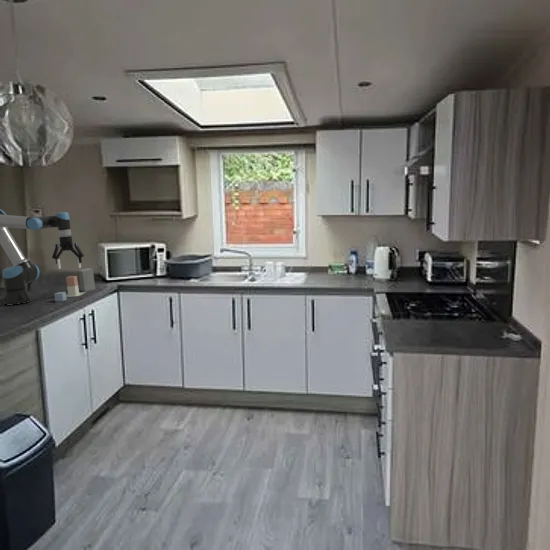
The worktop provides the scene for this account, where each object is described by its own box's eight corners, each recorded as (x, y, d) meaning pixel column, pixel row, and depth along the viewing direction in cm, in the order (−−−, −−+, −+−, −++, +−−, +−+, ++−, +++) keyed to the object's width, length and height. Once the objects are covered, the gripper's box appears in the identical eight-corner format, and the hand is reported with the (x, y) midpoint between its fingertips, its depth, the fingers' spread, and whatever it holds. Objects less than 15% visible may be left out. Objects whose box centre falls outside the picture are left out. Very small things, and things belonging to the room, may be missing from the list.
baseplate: (61, 298, 315) (60, 297, 315) (69, 294, 327) (69, 293, 327) (79, 297, 315) (78, 295, 314) (86, 293, 327) (86, 292, 326)
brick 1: (55, 303, 303) (54, 293, 302) (59, 301, 308) (57, 292, 307) (63, 302, 303) (62, 293, 302) (67, 300, 308) (65, 291, 307)
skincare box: (91, 290, 339) (87, 267, 336) (96, 290, 334) (93, 268, 332) (79, 292, 333) (76, 269, 330) (85, 293, 328) (81, 270, 325)
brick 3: (68, 295, 318) (67, 286, 317) (71, 293, 323) (70, 285, 322) (75, 295, 318) (74, 286, 317) (79, 293, 323) (77, 284, 322)
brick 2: (67, 286, 317) (66, 277, 316) (70, 285, 322) (69, 276, 321) (74, 286, 317) (73, 277, 316) (78, 284, 322) (76, 275, 321)
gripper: (43, 237, 311) (48, 270, 314) (81, 235, 310) (85, 268, 313) (49, 236, 318) (53, 268, 322) (86, 234, 317) (90, 266, 321)
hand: (69, 268), depth 318 cm, fingers open, 13 cm apart
